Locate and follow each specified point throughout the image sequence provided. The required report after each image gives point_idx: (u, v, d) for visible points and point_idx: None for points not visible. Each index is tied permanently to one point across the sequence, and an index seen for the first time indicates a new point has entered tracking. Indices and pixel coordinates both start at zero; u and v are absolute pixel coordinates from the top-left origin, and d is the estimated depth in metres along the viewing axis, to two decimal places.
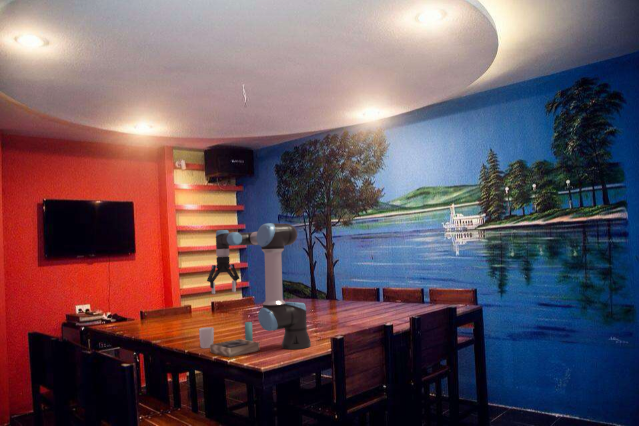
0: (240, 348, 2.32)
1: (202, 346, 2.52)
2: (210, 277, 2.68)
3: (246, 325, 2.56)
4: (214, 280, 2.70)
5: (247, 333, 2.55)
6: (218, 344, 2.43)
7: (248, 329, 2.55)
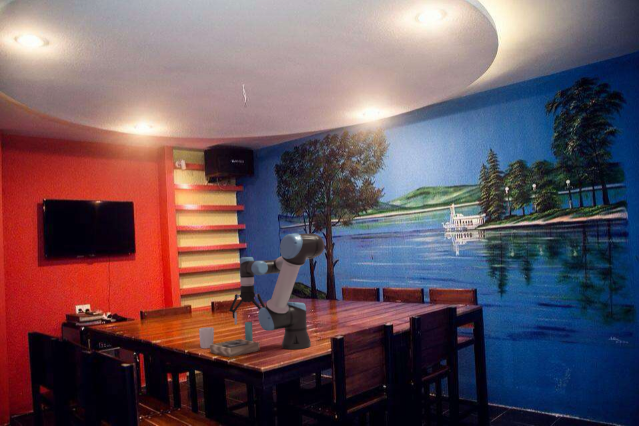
0: (240, 348, 2.32)
1: (202, 346, 2.52)
2: (230, 307, 2.58)
3: (246, 325, 2.56)
4: (235, 310, 2.57)
5: (247, 333, 2.55)
6: (218, 344, 2.43)
7: (248, 329, 2.55)
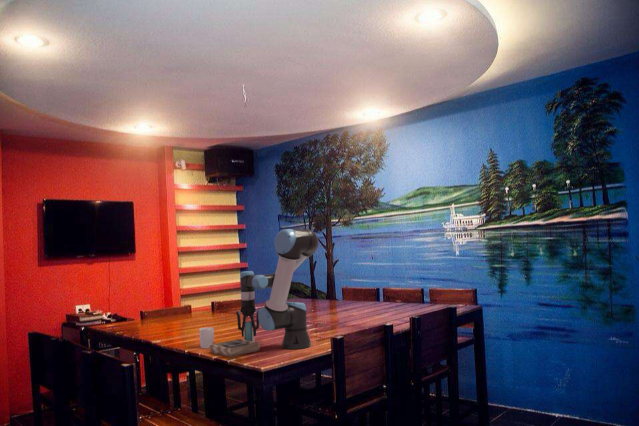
0: (240, 348, 2.32)
1: (202, 346, 2.52)
2: (238, 325, 2.56)
3: (246, 325, 2.56)
4: (243, 327, 2.56)
5: (247, 332, 2.55)
6: (218, 344, 2.43)
7: (248, 328, 2.55)
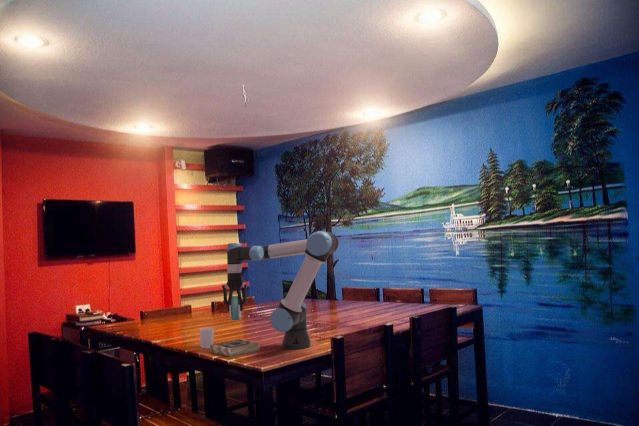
0: (240, 348, 2.32)
1: (202, 346, 2.52)
2: (224, 299, 2.44)
3: (232, 299, 2.43)
4: (229, 302, 2.44)
5: (233, 307, 2.43)
6: (218, 344, 2.43)
7: (234, 303, 2.43)
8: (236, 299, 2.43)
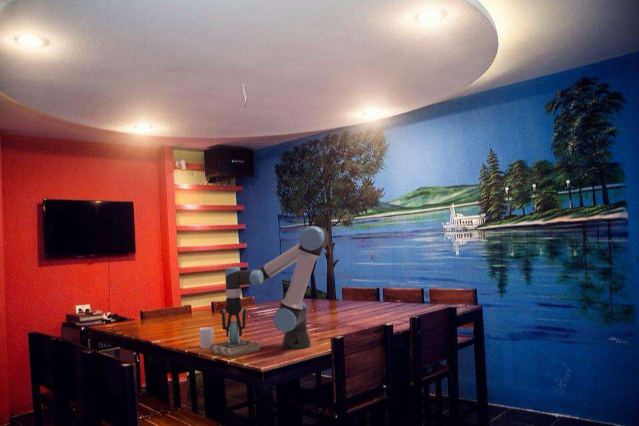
0: (240, 348, 2.32)
1: (202, 346, 2.52)
2: (222, 325, 2.40)
3: (231, 325, 2.39)
4: (228, 327, 2.40)
5: (232, 333, 2.39)
6: (218, 344, 2.43)
7: (234, 328, 2.39)
8: (235, 325, 2.39)
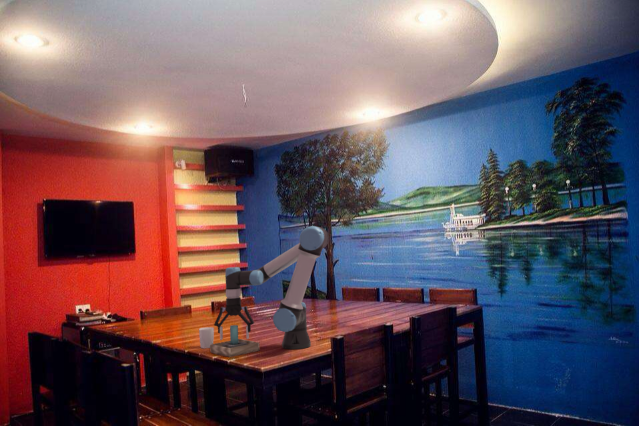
0: (240, 348, 2.32)
1: (202, 346, 2.52)
2: (216, 321, 2.40)
3: (231, 329, 2.39)
4: (220, 324, 2.40)
5: (232, 337, 2.39)
6: (218, 344, 2.43)
7: (234, 332, 2.39)
8: (235, 329, 2.39)
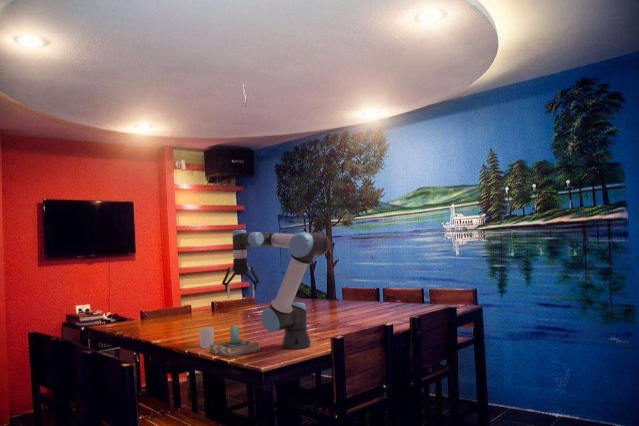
0: (240, 348, 2.32)
1: (202, 346, 2.52)
2: (223, 280, 2.54)
3: (231, 329, 2.39)
4: (228, 283, 2.54)
5: (232, 337, 2.39)
6: (218, 344, 2.43)
7: (234, 333, 2.39)
8: (235, 329, 2.39)
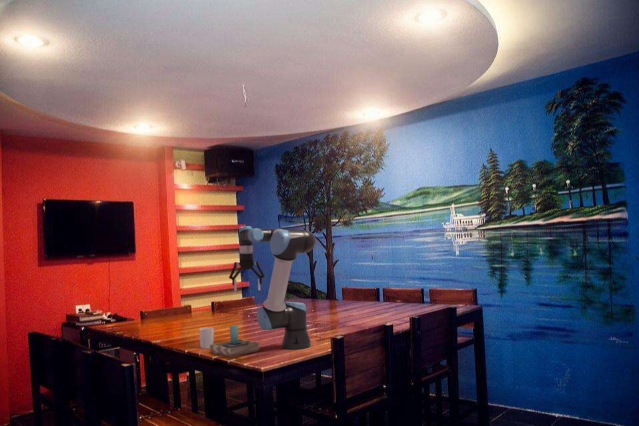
0: (240, 348, 2.32)
1: (202, 346, 2.52)
2: (230, 274, 2.66)
3: (231, 329, 2.39)
4: (235, 277, 2.66)
5: (232, 337, 2.39)
6: (218, 344, 2.43)
7: (233, 333, 2.39)
8: (235, 329, 2.39)
